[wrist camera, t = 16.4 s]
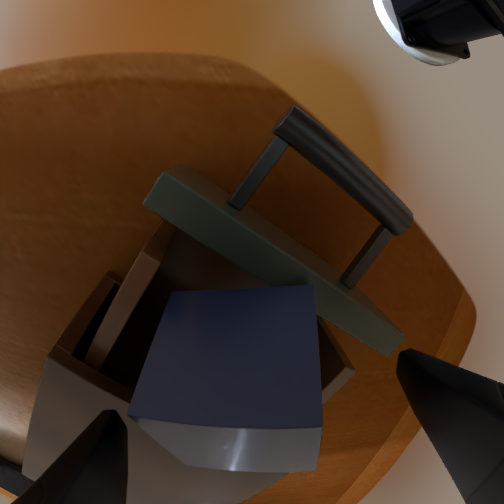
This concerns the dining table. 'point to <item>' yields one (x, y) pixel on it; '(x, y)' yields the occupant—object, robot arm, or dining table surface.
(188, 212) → the drawer
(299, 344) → the block
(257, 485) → the cabinet
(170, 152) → the dining table surface
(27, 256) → the dining table surface
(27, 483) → the black flat pad
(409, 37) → the robot arm
